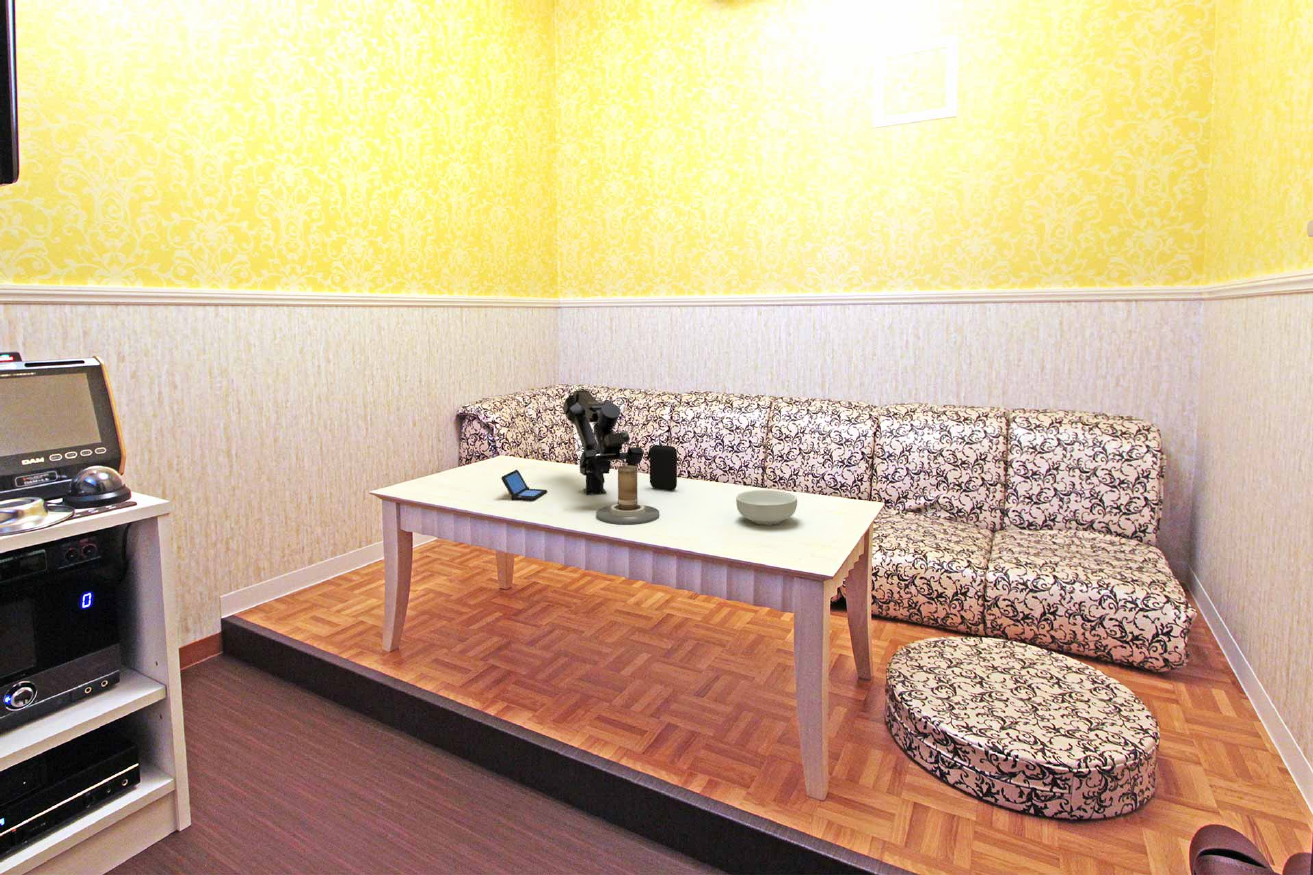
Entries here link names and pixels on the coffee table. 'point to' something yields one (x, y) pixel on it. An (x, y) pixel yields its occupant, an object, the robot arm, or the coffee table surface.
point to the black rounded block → (663, 467)
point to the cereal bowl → (766, 506)
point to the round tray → (627, 515)
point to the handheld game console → (520, 487)
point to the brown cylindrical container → (627, 488)
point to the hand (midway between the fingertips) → (618, 481)
